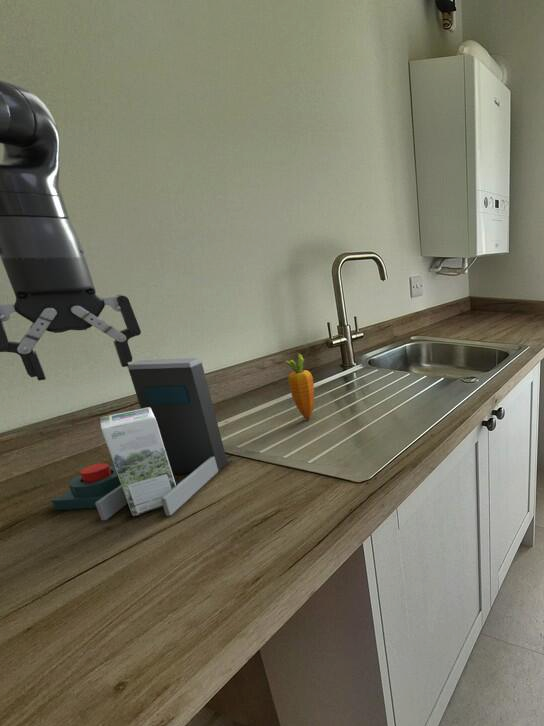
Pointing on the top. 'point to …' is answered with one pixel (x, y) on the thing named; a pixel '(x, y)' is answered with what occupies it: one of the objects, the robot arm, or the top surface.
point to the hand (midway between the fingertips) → (85, 372)
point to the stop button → (95, 472)
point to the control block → (86, 492)
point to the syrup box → (138, 458)
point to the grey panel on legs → (176, 427)
